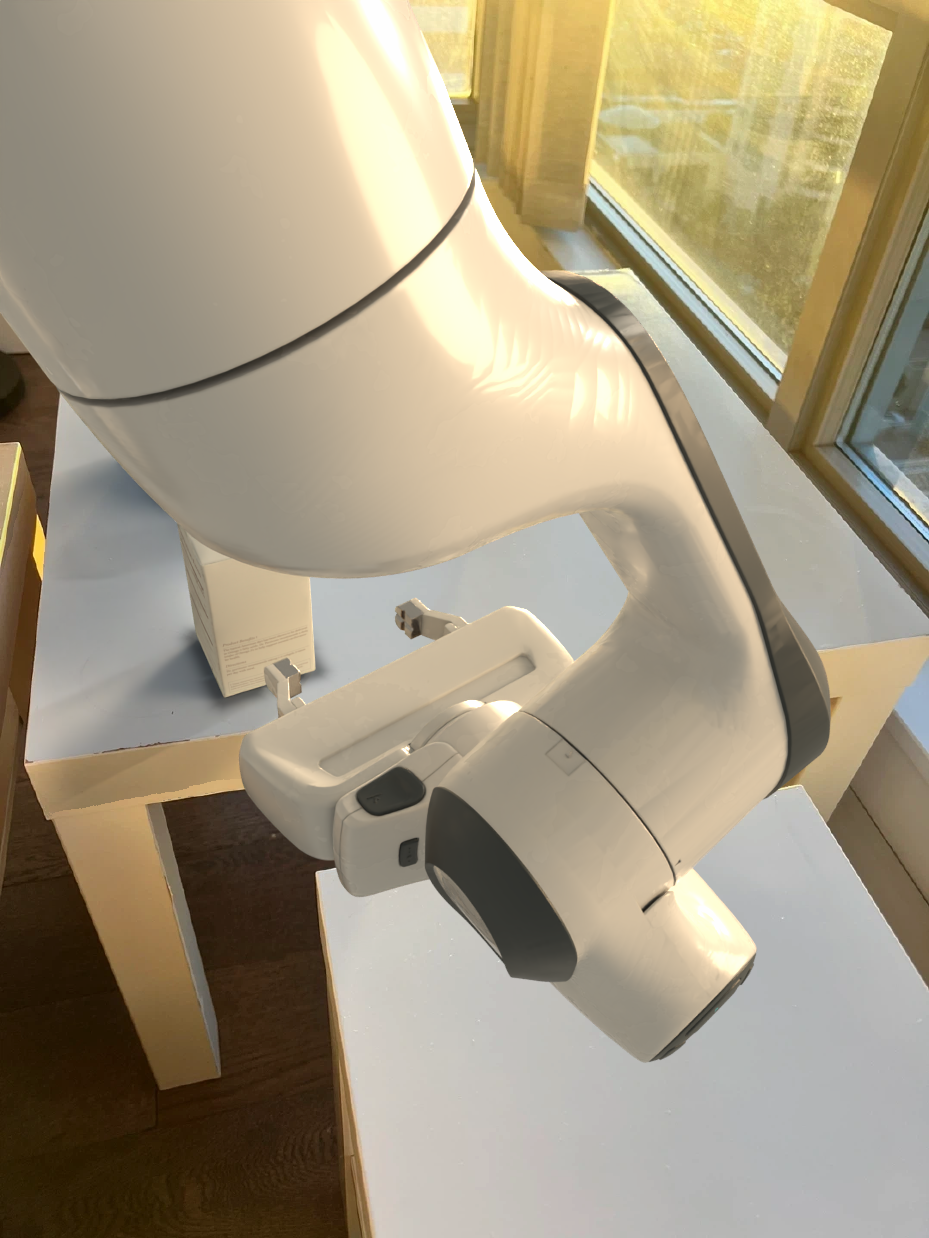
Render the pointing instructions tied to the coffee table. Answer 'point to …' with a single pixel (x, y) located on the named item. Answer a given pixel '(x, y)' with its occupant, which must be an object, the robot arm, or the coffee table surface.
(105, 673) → the coffee table surface
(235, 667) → the white packaging box
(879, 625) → the coffee table surface
